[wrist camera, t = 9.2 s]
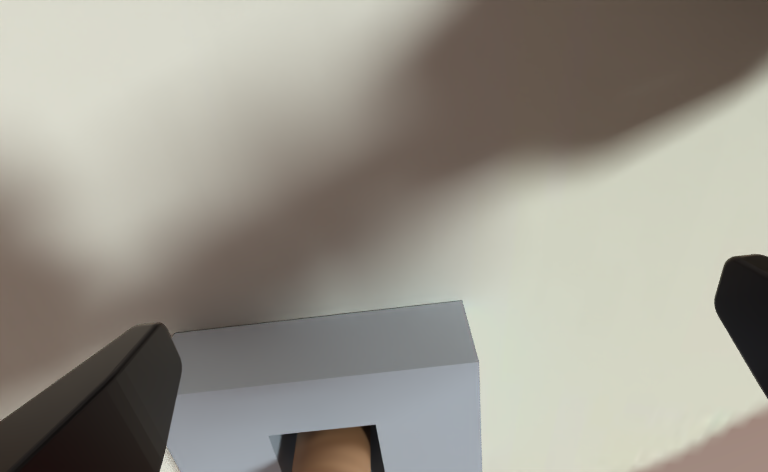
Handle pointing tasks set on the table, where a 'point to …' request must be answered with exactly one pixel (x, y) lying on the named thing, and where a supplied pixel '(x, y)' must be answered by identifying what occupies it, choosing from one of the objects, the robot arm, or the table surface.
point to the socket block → (331, 390)
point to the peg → (333, 450)
